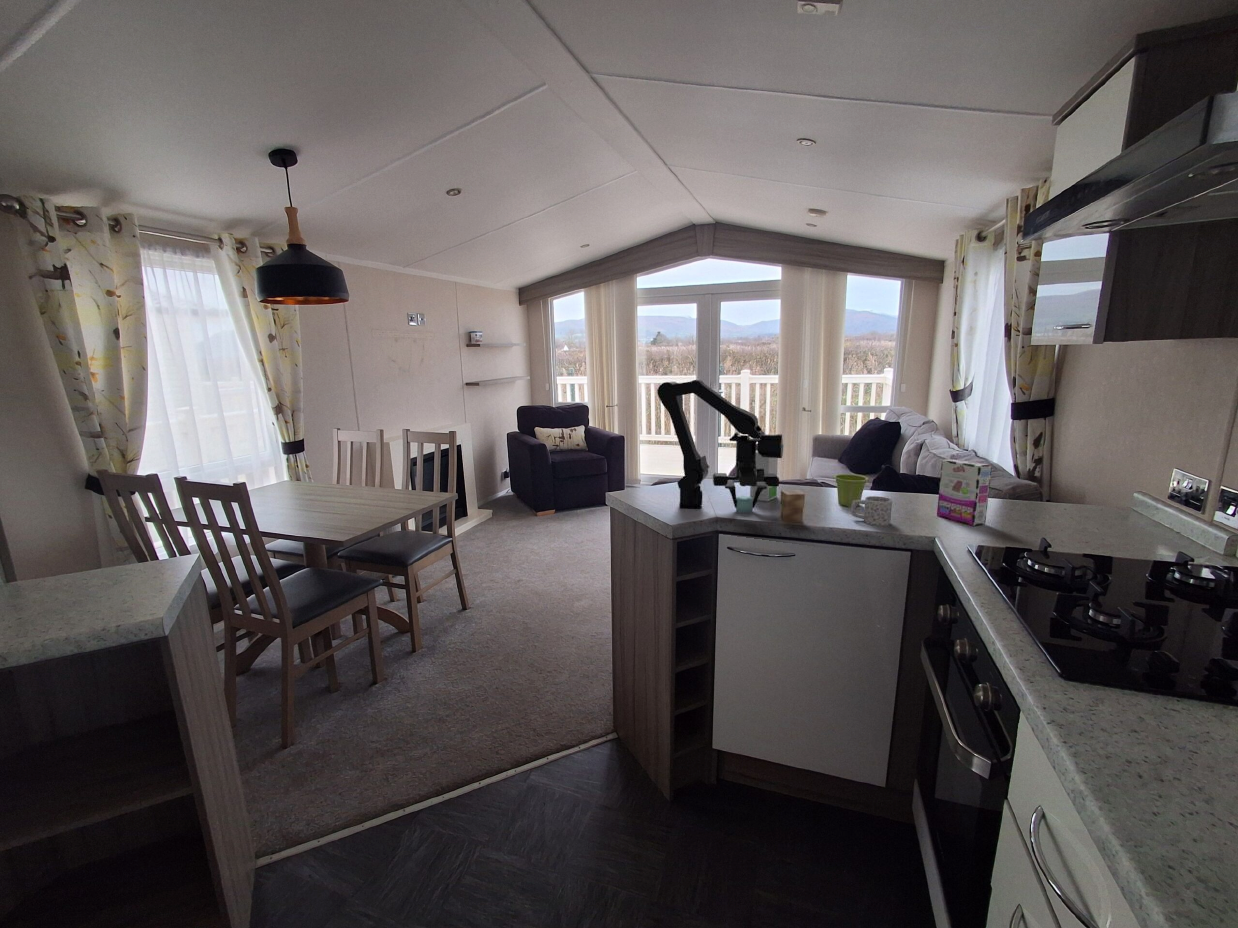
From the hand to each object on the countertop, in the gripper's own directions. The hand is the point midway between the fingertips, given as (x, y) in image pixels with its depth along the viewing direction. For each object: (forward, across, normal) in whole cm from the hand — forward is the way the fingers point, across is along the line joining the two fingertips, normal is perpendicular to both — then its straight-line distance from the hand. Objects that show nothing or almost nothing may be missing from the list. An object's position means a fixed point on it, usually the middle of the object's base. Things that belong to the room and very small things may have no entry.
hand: (744, 507), depth 158 cm
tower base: (+1, +12, -8) cm, 14 cm away
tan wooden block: (-3, +12, -8) cm, 15 cm away
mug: (+1, +33, -9) cm, 34 cm away
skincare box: (+1, +8, +16) cm, 18 cm away
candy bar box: (+1, +58, -6) cm, 58 cm away
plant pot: (+1, +33, +9) cm, 34 cm away
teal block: (+1, 0, 0) cm, 1 cm away
